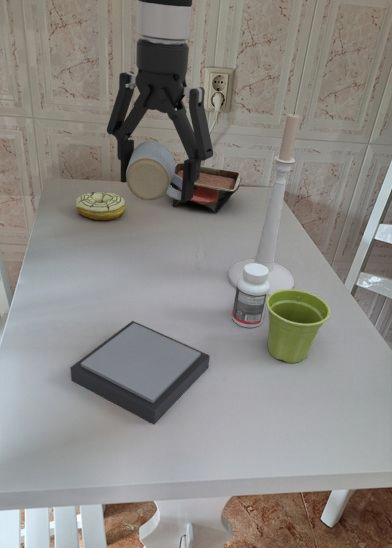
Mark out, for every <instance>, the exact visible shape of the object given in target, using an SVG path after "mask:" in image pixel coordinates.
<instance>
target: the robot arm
mask: <svg viewBox="0 0 392 548" xmlns="http://www.w3.org/2000/svg"><path fill="white" fill-rule="evenodd" d="M136 1H137V4H136V34H137V35H138V36H140V38H138V40H137V41H136V52H135V54H136V55H135V57H136V58H135V59H136V61H135V65H136V68H137V74H135V72H134V71H132V70H130V71H124V72H120V73H119V77H118V79H119V81H118V86H119V87H118V90H117V94H116V98H115V100H114V104H113V107H112V110H111V114H110V117H109V120H108V124H107V127H106V133H107V134H108V135H112V136H113V137H115V139H116V142H117V145H116V148H117V150H116V153H117V154H116V155H117V160H118V161H120V183H123V184H125V183H127V181H126V171H127V167H128V165H129V162H130V159H131V156H132V153H133V151H134V149H135V140H134V139H131V138H132V137H133V136H132V135H133V133H134V131H135V130H136V129H137V127H138V126H139V124H140V122H141V121H142V120H143V118H144V117H145V115H146V114H147V112H148V111H149V110H150V111H157V112H159V113H163V114H166V115H167V116H168V118H169V120H171V121H172V123H173V126H174V129H175V130H176V133H177V135H178V137H179V140H180V142H181V145H182V147H183V149H184V151H185V153H186V155H187V158H186V159H184V160H183V163H184V167H183V180H182V193H181V202H182V203H186V202H188V201H190V199H192V198H193V193H194V182H195V181H197V180H198V179H199V177H200V167H201V166H202V162H204V161H206V160H208V159H211V158H212V157H213V156H214V149H213V144H212V139H211V134H210V133H211V132H210V129H209V123H208V119H207V114H206V108H205V95H206V91H205V88H204V87H203V86H199V87H193V86H188V84H187V81H186V76H187V72H188V68H189V52H190V46H189V44H188V43H187V42H186V41H188V40H189V39H190V35H191V24H192V10H193V0H136ZM136 88H137V90H138V92H139V94H138V97H137V98H136V99H135V101H134V103H133V107H132V108H131V110H130V112H129V113H128V111H129V108H130V105H131V102H132V99H133V95H134V92H135V89H136ZM185 97H186V99H185ZM183 99H185V101H186V103H188V110H189V111H187V108H186V106H185V103H184V101H183ZM187 112H189V116H190V120H191V123H190V120H189V118H188V114H187ZM127 114H128V115H127Z"/></svg>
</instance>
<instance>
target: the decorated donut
mask: <svg viewBox="0 0 392 548" xmlns="http://www.w3.org/2000/svg"><path fill="white" fill-rule="evenodd" d="M75 208H76V210H77V212H78V214H80V215H82V216H83V217H85V218H88V219H90V220H95V221H110V220H111V221H112V220H116V219H117V218H119V217H120V216H121V215H122V214H123V213H124V212H125V210H126V200H125V199H124V198H123V197H122V196H121V195H119V194H117V193H114V192H108V191H91V192H88V193H84V194H81V195H80V196H79V197H77V198H76V200H75Z"/></svg>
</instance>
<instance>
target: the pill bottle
mask: <svg viewBox="0 0 392 548" xmlns="http://www.w3.org/2000/svg"><path fill="white" fill-rule="evenodd" d="M268 273H269V270H268V268H267V267H265V266H264V265H261V264H257V263H250V264H247V265H245V266H244V270H243V276H242V277H241V278H239V280H238V282H237V287H235V288H236V289H235V293H234V301H233V307H232V312H231V313H232V314H231V318H232V321H233V322H234V323H235V324H236V325H238V326H240V327H242V328H243V327H244V328H248V329H249V328H250V329H251V328H257V327H259V326H260V325H262V324H263V322H264V318H265V314H266V313H265V312H266V308H267V306H266V301H267V298H268V294H269V290H270V284H269V282H268V281H267V278H268Z"/></svg>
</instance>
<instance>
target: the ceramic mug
mask: <svg viewBox="0 0 392 548" xmlns="http://www.w3.org/2000/svg"><path fill="white" fill-rule="evenodd" d="M175 164H176V160H175V158H174V155H173V153H172V152H171V150H170V148H168V147H167V146H166V145H164V144H163V143H161V142H159V141H157V140H156V141H155V140H146V141H143V142H141V143H139V144H138V145H136V147H134V151H133V153H132V156H131V159H130V162H129V165H128V167H127V171H126V181H127V182H126V184H127V187H128V189H129V191H130V192H131V193H132V194H133V195H134V196H135V197H136V198H139V199H141V200H144V201H156V200H158V199H160V198H161V197H163V196H164V195H166V196H168V197H170V198H172V199H173V198H174V199H177V200H181V193H182V192H180V191H178V190H176V189H174V188H172V186H171V185H170V183H171V182H172V183H174V184H175V185H176V186H178V187H179V188H180V189H181V190H182V180H183V179H182V178H181V177H179V176H178V175H177V174H175V173H174V172H175Z"/></svg>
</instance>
